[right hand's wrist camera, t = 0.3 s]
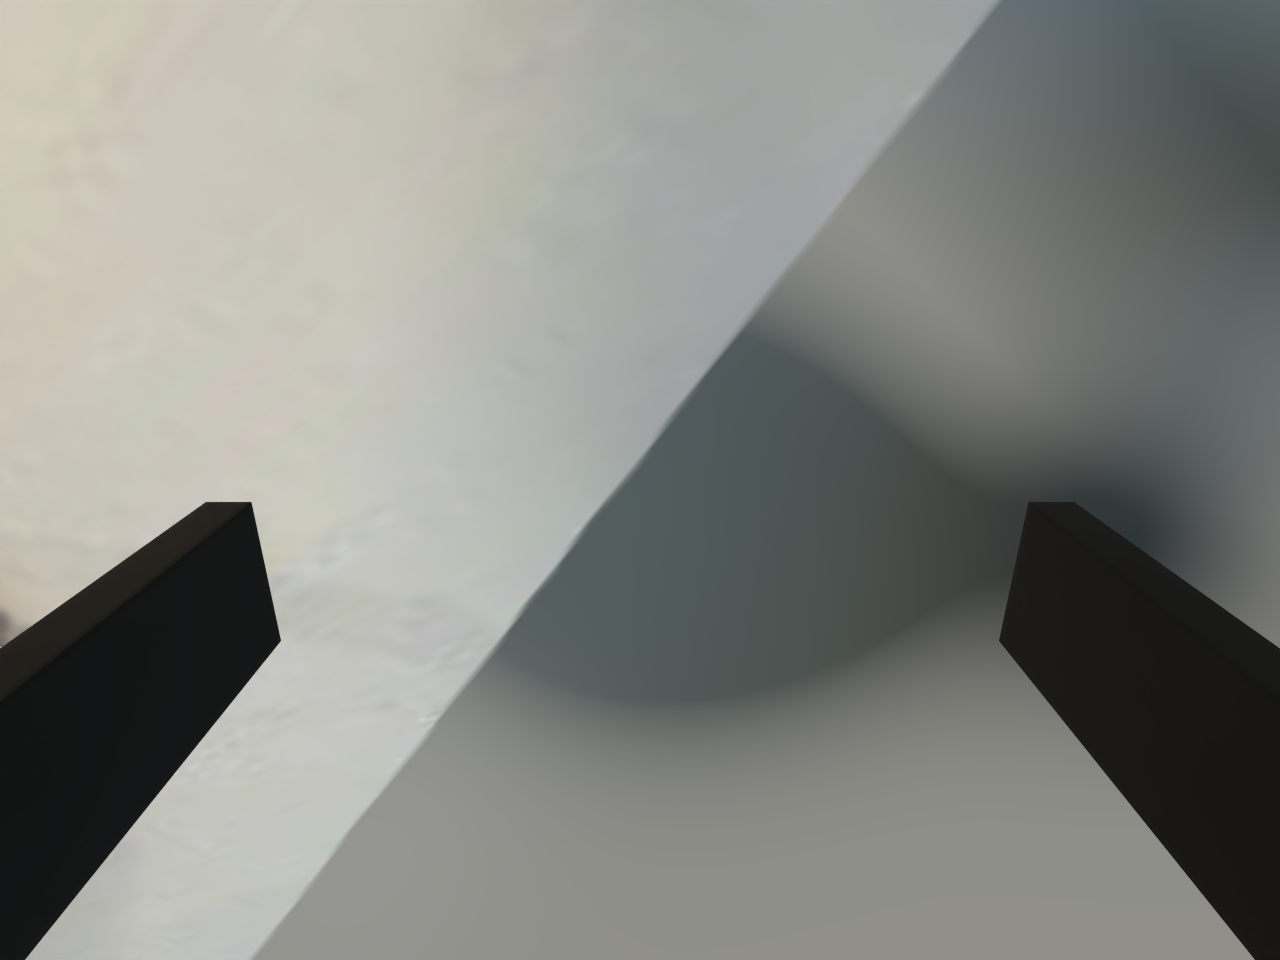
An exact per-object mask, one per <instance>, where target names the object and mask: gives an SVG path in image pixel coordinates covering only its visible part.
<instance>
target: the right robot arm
mask: <svg viewBox="0 0 1280 960" xmlns="http://www.w3.org/2000/svg"><path fill="white" fill-rule="evenodd" d="M280 641H281V639H280V634H279V629H278V625H277V620H276V615H275V611H274V606H273V601H272V597H271V592H270V587H269V583H268V578H267V573H266V568H265V564H264V559H263V554H262V550H261V545H260V540H259V536H258V531H257V526H256V522H255V517H254V512H253V507H252V503H251V502H205V503H204V504H203V505H201V506H200V507H198V508H197V509H196V510H194V511H193V512H191V513H190V514H189V515H187V516H186V517H184V518H183V519H182V520H180V521H179V522H177V523H176V524H175V525H173V526H172V527H170V528H169V529H168V530H166V531H165V532H163V533H162V534H160V535H159V536H158V537H156V538H155V539H153V540H152V541H151V542H149V543H148V544H146V545H145V546H144V547H142V548H141V549H139V550H138V551H137V552H135V553H134V554H132V555H131V556H130V557H128V558H127V559H125V560H124V561H123V562H121V563H120V564H118V565H117V566H116V567H114V568H113V569H111V570H110V571H108V572H107V573H106V574H104V575H103V576H101V577H100V578H99V579H97V580H96V581H94V582H93V583H92V584H90V585H89V586H87V587H86V588H85V589H83V590H82V591H80V592H79V593H78V594H76V595H75V596H73V597H72V598H71V599H69V600H68V601H66V602H65V603H64V604H62V605H61V606H59V607H58V608H56V609H55V610H54V611H52V612H51V613H49V614H48V615H47V616H45V617H44V618H42V619H41V620H40V621H38V622H37V623H35V624H34V625H33V626H31V627H30V628H28V629H27V630H26V631H24V632H23V633H21V634H20V635H19V636H17V637H16V638H14V639H13V640H11V641H10V642H9V643H7V644H6V645H4V646H3V647H2V648H0V960H25V959H26V958H27V957H28V955H29V954H30V953H31V952H32V950H33V949H34V948H35V947H36V945H37V944H38V943H39V942H40V940H41V939H42V938H43V937H44V935H45V934H46V933H47V932H48V930H49V929H50V928H51V927H52V925H53V924H54V923H55V922H56V920H57V919H58V918H59V917H60V915H61V914H62V913H63V912H64V910H65V909H66V908H67V907H68V905H69V904H70V903H71V902H72V900H73V899H74V898H75V897H76V895H77V894H78V893H79V892H80V891H81V889H82V888H83V887H84V886H85V884H86V883H87V882H88V881H89V879H90V878H91V877H92V876H93V874H94V873H95V872H96V871H97V869H98V868H99V867H100V866H101V864H102V863H103V862H104V861H105V859H106V858H107V857H108V856H109V854H110V853H111V852H112V851H113V849H114V848H115V847H116V846H117V844H118V843H119V842H120V841H121V839H122V838H123V837H124V836H125V834H126V833H127V832H128V831H129V829H130V828H131V827H132V826H133V824H134V823H135V822H136V821H137V819H138V818H139V817H140V816H141V815H142V813H143V812H144V811H145V810H146V808H147V807H148V806H149V805H150V803H151V802H152V801H153V800H154V798H155V797H156V796H157V795H158V793H159V792H160V791H161V790H162V788H163V787H164V786H165V785H166V783H167V782H168V781H169V780H170V778H171V777H172V776H173V775H174V773H175V772H176V771H177V770H178V768H179V767H180V766H181V765H182V763H183V762H184V761H185V760H186V758H187V757H188V756H189V755H190V753H191V752H192V751H193V750H194V748H195V747H196V746H197V745H198V743H199V742H200V741H201V740H202V738H203V737H204V736H205V735H206V734H207V732H208V731H209V730H210V729H211V727H212V726H213V725H214V724H215V722H216V721H217V720H218V719H219V717H220V716H221V715H222V714H223V712H224V711H225V710H226V709H227V707H228V706H229V705H230V704H231V702H232V701H233V700H234V699H235V697H236V696H237V695H238V694H239V692H240V691H241V690H242V689H243V687H244V686H245V685H246V684H247V682H248V681H249V680H250V679H251V677H252V676H253V675H254V674H255V672H256V671H257V670H258V669H259V667H260V666H261V665H262V664H263V662H264V661H265V660H266V659H267V658H268V656H269V655H270V654H271V653H272V651H273V650H274V649H275V648H276V646H277V645H278V644H279V643H280ZM999 641H1000V643H1001V644H1002V645H1003V646H1004V648H1005V649H1006V650H1007V651H1008V653H1009V654H1010V655H1011V656H1012V658H1013V659H1014V660H1015V661H1016V662H1017V664H1018V665H1019V666H1020V667H1021V669H1022V670H1023V671H1024V672H1025V674H1026V675H1027V676H1028V677H1029V679H1030V680H1031V681H1032V682H1033V684H1034V685H1035V686H1036V687H1037V689H1038V690H1039V691H1040V692H1041V694H1042V695H1043V696H1044V697H1045V699H1046V700H1047V701H1048V702H1049V704H1050V705H1051V706H1052V707H1053V709H1054V710H1055V711H1056V712H1057V714H1058V715H1059V716H1060V717H1061V719H1062V720H1063V721H1064V722H1065V724H1066V725H1067V726H1068V727H1069V728H1070V730H1071V731H1072V732H1073V734H1074V735H1075V736H1076V737H1077V739H1078V740H1079V741H1080V742H1081V743H1082V745H1083V746H1084V747H1085V748H1086V750H1087V751H1088V752H1089V753H1090V755H1091V756H1092V757H1093V758H1094V760H1095V761H1096V762H1097V763H1098V765H1099V766H1100V767H1101V768H1102V770H1103V771H1104V772H1105V773H1106V775H1107V776H1108V777H1109V778H1110V780H1111V781H1112V782H1113V783H1114V785H1115V786H1116V787H1117V788H1118V790H1119V791H1120V792H1121V793H1122V795H1123V796H1124V797H1125V798H1126V800H1127V801H1128V802H1129V803H1130V805H1131V806H1132V807H1133V808H1134V810H1135V811H1136V812H1137V813H1138V815H1139V816H1140V817H1141V818H1142V819H1143V821H1144V822H1145V823H1146V824H1147V826H1148V827H1149V828H1150V829H1151V831H1152V832H1153V833H1154V834H1155V836H1156V837H1157V838H1158V839H1159V841H1160V842H1161V843H1162V844H1163V846H1164V847H1165V848H1166V849H1167V851H1168V852H1169V853H1170V854H1171V856H1172V857H1173V858H1174V859H1175V861H1176V862H1177V863H1178V864H1179V866H1180V867H1181V868H1182V869H1183V871H1184V872H1185V873H1186V874H1187V876H1188V877H1189V878H1190V879H1191V880H1192V882H1193V883H1194V884H1195V886H1196V887H1197V888H1198V889H1199V891H1200V892H1201V893H1202V894H1203V895H1204V897H1205V898H1206V899H1207V900H1208V902H1209V903H1210V904H1211V905H1212V907H1213V908H1214V909H1215V910H1216V912H1217V913H1218V914H1219V915H1220V917H1221V918H1222V919H1223V920H1224V922H1225V923H1226V924H1227V925H1228V927H1229V928H1230V929H1231V930H1232V932H1233V933H1234V934H1235V935H1236V937H1237V938H1238V939H1239V940H1240V942H1241V943H1242V944H1243V945H1244V947H1245V948H1246V949H1247V950H1248V952H1249V953H1250V954H1251V955H1252V957H1253V958H1254V959H1255V960H1280V648H1278V647H1277V646H1275V645H1274V644H1273V643H1271V642H1270V641H1268V640H1267V639H1266V638H1264V637H1263V636H1261V635H1260V634H1259V633H1257V632H1256V631H1254V630H1253V629H1252V628H1250V627H1249V626H1247V625H1246V624H1245V623H1243V622H1242V621H1240V620H1239V619H1238V618H1236V617H1235V616H1233V615H1232V614H1231V613H1229V612H1228V611H1226V610H1225V609H1223V608H1222V607H1221V606H1219V605H1218V604H1216V603H1215V602H1214V601H1212V600H1211V599H1209V598H1208V597H1207V596H1205V595H1204V594H1202V593H1201V592H1200V591H1198V590H1197V589H1195V588H1194V587H1192V586H1191V585H1190V584H1188V583H1187V582H1186V581H1184V580H1183V579H1181V578H1180V577H1179V576H1177V575H1176V574H1174V573H1173V572H1171V571H1170V570H1169V569H1167V568H1166V567H1164V566H1163V565H1162V564H1160V563H1159V562H1157V561H1156V560H1155V559H1153V558H1152V557H1150V556H1149V555H1148V554H1146V553H1145V552H1143V551H1142V550H1141V549H1139V548H1138V547H1136V546H1135V545H1134V544H1132V543H1131V542H1129V541H1128V540H1127V539H1125V538H1124V537H1122V536H1121V535H1119V534H1118V533H1117V532H1115V531H1114V530H1112V529H1111V528H1110V527H1108V526H1107V525H1105V524H1104V523H1103V522H1101V521H1100V520H1098V519H1097V518H1096V517H1094V516H1093V515H1091V514H1090V513H1089V512H1087V511H1086V510H1084V509H1083V508H1082V507H1080V506H1079V505H1077V504H1076V503H1074V502H1029V503H1028V508H1027V512H1026V517H1025V522H1024V526H1023V531H1022V536H1021V540H1020V545H1019V550H1018V554H1017V559H1016V564H1015V568H1014V573H1013V578H1012V583H1011V587H1010V592H1009V597H1008V601H1007V606H1006V611H1005V615H1004V620H1003V625H1002V629H1001V634H1000V639H999Z"/></svg>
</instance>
